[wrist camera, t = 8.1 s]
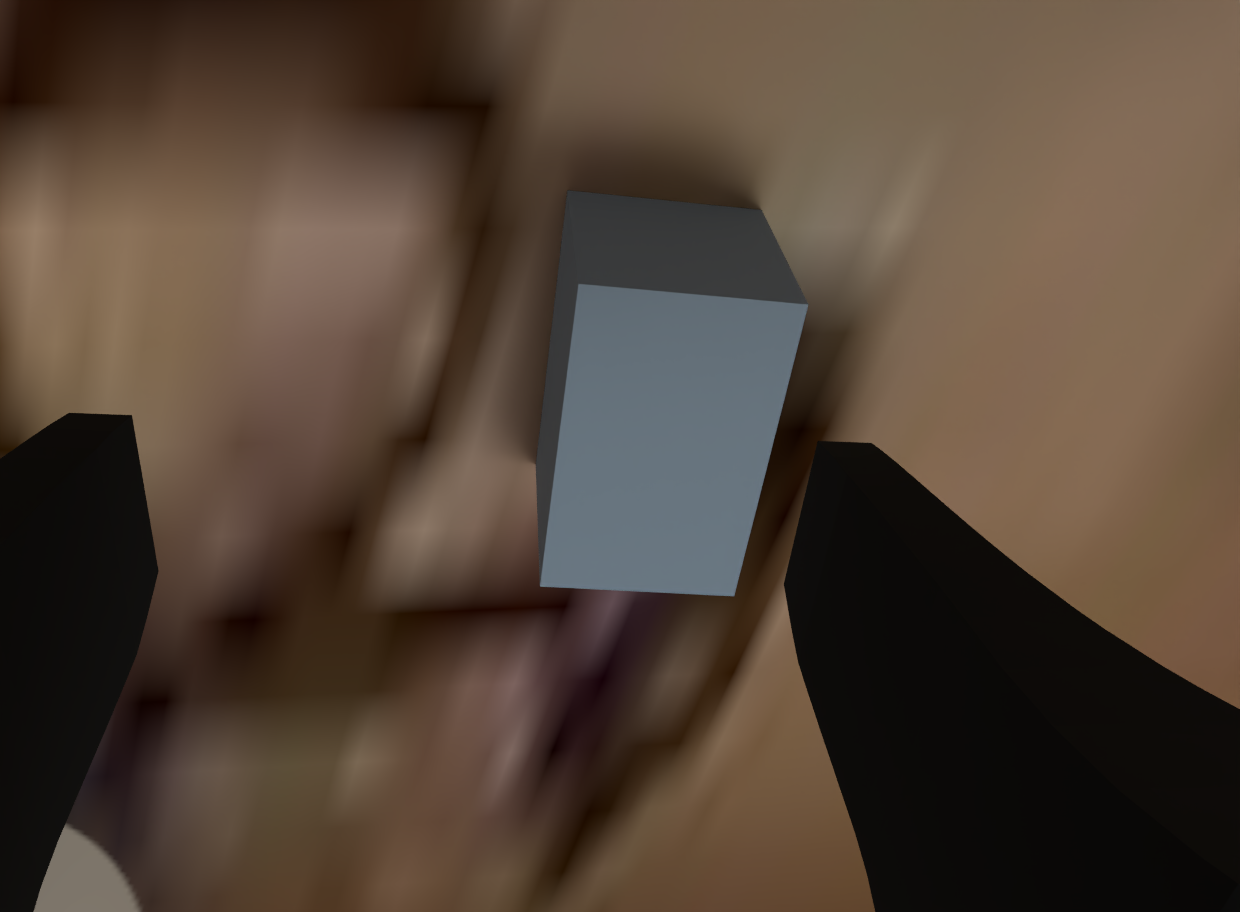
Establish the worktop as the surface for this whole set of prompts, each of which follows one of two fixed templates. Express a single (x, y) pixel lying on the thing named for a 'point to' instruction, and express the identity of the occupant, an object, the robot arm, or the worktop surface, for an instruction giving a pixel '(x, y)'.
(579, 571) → the dusty-blue brick
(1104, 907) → the robot arm
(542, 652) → the worktop surface
